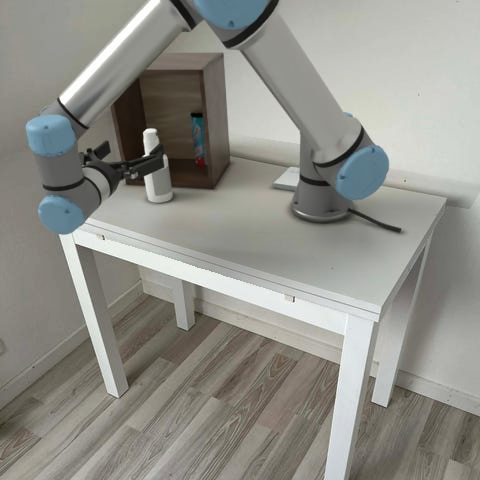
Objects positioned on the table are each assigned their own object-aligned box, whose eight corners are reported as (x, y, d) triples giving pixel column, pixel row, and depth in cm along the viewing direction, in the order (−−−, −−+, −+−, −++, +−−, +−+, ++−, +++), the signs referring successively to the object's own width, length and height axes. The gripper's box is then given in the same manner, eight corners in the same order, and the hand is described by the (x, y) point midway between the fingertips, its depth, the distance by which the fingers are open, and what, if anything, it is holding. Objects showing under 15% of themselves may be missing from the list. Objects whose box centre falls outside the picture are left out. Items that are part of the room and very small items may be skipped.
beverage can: (199, 160, 153) (193, 110, 143) (217, 160, 151) (213, 110, 142) (193, 167, 148) (187, 116, 139) (212, 168, 147) (207, 116, 138)
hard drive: (273, 188, 135) (289, 171, 143) (301, 192, 132) (316, 174, 140) (273, 182, 133) (289, 165, 142) (301, 186, 130) (316, 169, 139)
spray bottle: (168, 203, 130) (158, 135, 119) (144, 202, 131) (131, 135, 120) (176, 192, 135) (166, 126, 124) (152, 191, 136) (141, 125, 125)
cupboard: (213, 189, 136) (203, 69, 117) (126, 184, 141) (102, 69, 122) (230, 163, 150) (223, 52, 131) (150, 159, 156) (132, 53, 136)
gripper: (44, 198, 104) (90, 160, 120) (154, 205, 99) (186, 165, 115) (33, 163, 99) (82, 129, 115) (148, 169, 94) (183, 133, 110)
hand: (134, 147), depth 115 cm, fingers open, 13 cm apart
